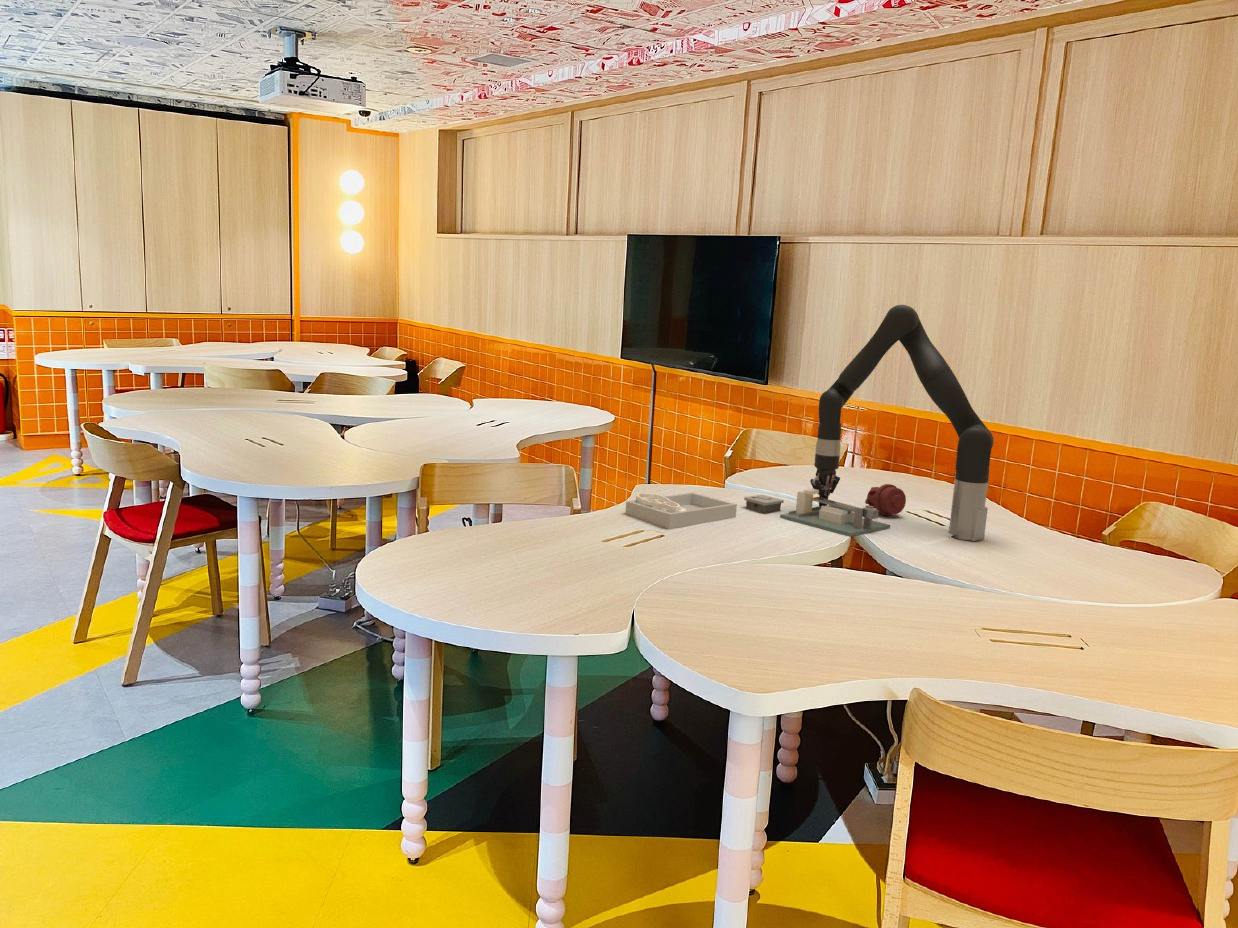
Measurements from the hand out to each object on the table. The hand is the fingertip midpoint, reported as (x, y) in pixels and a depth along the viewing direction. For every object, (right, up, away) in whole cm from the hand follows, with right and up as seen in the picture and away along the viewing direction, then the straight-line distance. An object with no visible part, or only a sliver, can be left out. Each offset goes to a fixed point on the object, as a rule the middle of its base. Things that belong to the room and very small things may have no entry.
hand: (823, 506), depth 296 cm
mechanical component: (+21, -3, +4) cm, 21 cm away
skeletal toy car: (-52, -4, -17) cm, 55 cm away
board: (+1, -4, -11) cm, 12 cm away
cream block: (-7, -2, -5) cm, 9 cm away
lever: (+3, 0, -14) cm, 14 cm away
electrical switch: (-22, -2, -2) cm, 22 cm away
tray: (-46, -2, -14) cm, 48 cm away
